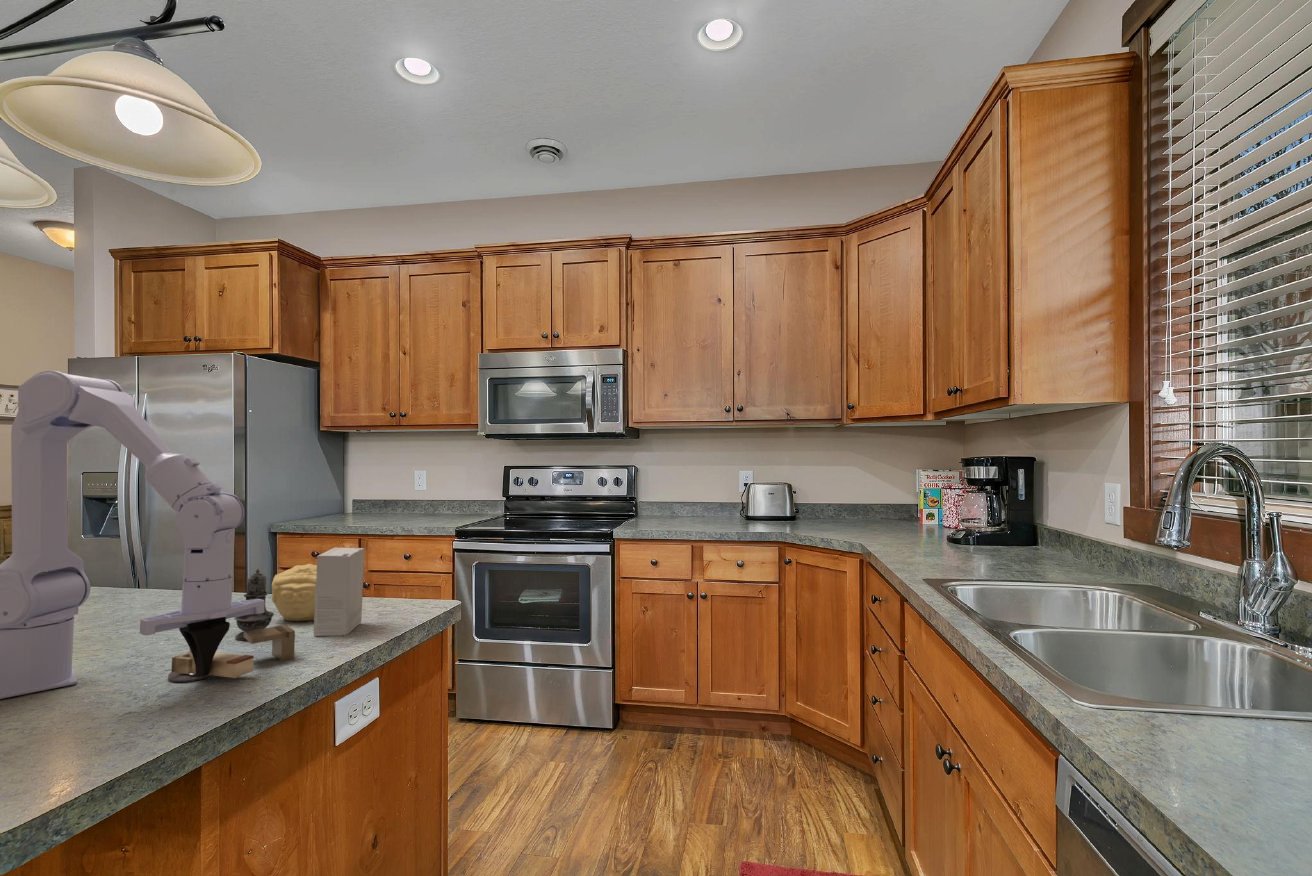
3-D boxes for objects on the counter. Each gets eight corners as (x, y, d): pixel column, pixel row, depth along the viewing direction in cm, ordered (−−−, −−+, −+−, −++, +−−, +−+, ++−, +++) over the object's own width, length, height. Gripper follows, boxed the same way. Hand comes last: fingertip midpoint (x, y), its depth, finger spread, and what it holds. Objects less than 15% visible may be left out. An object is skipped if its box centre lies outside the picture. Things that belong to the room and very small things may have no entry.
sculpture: (261, 627, 111) (263, 569, 112) (290, 610, 123) (292, 559, 124) (326, 624, 113) (327, 568, 114) (348, 609, 125) (350, 558, 125)
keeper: (251, 667, 90) (252, 638, 90) (242, 660, 93) (243, 632, 93) (294, 658, 94) (294, 630, 94) (284, 651, 97) (285, 624, 97)
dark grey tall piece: (277, 629, 109) (281, 565, 109) (265, 640, 103) (270, 572, 104) (241, 630, 107) (245, 565, 108) (227, 641, 102) (231, 572, 102)
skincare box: (330, 624, 113) (332, 547, 114) (363, 623, 114) (365, 546, 115) (312, 637, 105) (314, 554, 105) (348, 636, 106) (350, 553, 106)
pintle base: (172, 686, 82) (173, 653, 82) (164, 675, 86) (166, 644, 86) (224, 674, 87) (225, 644, 87) (214, 664, 91) (215, 635, 91)
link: (171, 672, 85) (172, 656, 85) (197, 663, 89) (197, 648, 89) (231, 679, 83) (232, 663, 83) (255, 669, 86) (256, 654, 86)
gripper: (158, 590, 76) (152, 696, 75) (276, 573, 89) (272, 664, 88) (135, 584, 80) (129, 685, 79) (252, 568, 92) (248, 656, 92)
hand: (203, 674), depth 84 cm, fingers closed, pressing on link
